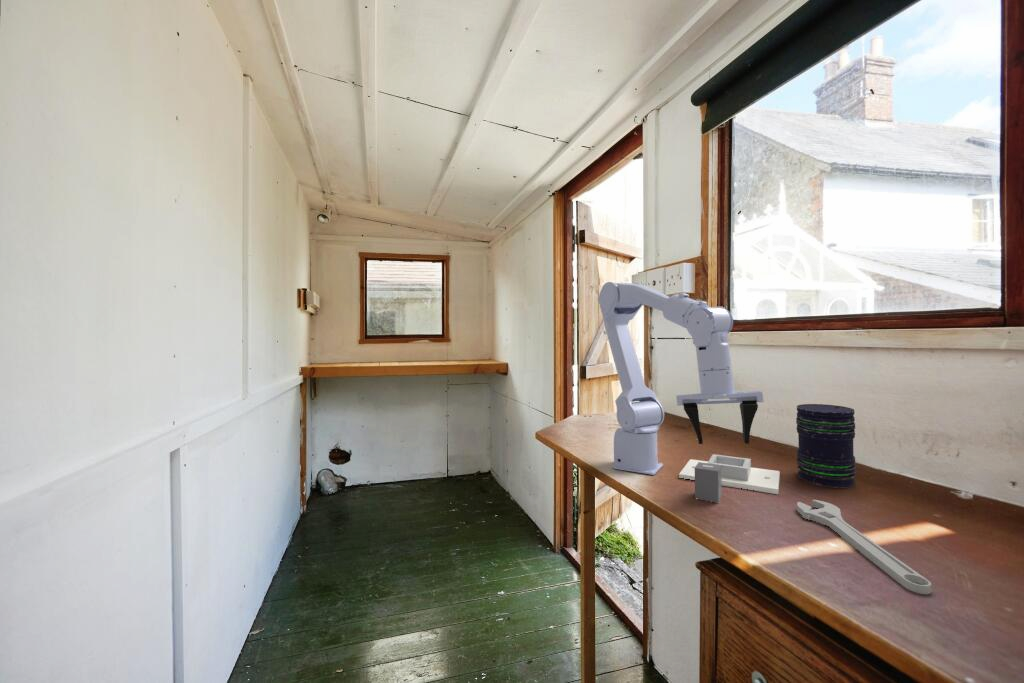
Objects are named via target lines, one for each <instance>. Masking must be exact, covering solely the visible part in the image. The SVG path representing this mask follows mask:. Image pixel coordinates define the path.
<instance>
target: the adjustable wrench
mask: <svg viewBox="0 0 1024 683" xmlns="http://www.w3.org/2000/svg"><path fill="white" fill-rule="evenodd" d="M811 502H812V506H814V507H816V508H819V509H816V508H814V507H812V506H811V505H808V504H806V503H803V502H801V501H797V503H796V509H797V510H796V512H797V511H798V512H799V513H800V514H801V515H802V516H801V515H800V514H799V513H798V512H797V513H798V514H799V515H800V516H801V518H802V517H804V518H806V519H808V520H807V521H810V519H812V520H815V521H817V522H820V523H822V524H825V525H827V526H829V527H830V528H832V529H833V530H834V531H835V532H837V533H838V534H839V535H840V536H841V538H842V540H844V541H845V540H846V541H845V542H846V543H848V544H849V543H850V544H851V545H850V544H849V545H850V546H852V547H853V546H854V547H855V548H854V547H853V548H854V549H855V550H857V549H858V550H859V551H860V552H859V551H858V550H857V551H858V552H859V553H861V555H863V556H865V558H866V559H868V560H869V561H871V562H872V563H873V564H874V565H876V566H877V567H879V568H880V569H881V570H882V571H883V572H884V573H885V574H887V575H888V576H889V577H890V578H892V579H893V580H895V581H896V582H897V583H898V584H900V585H901V586H902V587H903V588H905V589H906V590H908V591H911V592H913V593H917V594H922V595H929V594H931V593H932V582H931V581H930V580H928V579H927V578H926V577H925V576H923V575H921V574H920V573H918V572H917V571H915V570H914V569H913V568H912V567H910V566H909V565H907V564H906V563H904V562H903V561H901V560H900V559H899V558H897V557H896V556H894V555H893V554H891V553H890V552H889V551H887V550H886V549H885V548H883V547H881V546H880V545H879V544H878V543H876V542H875V541H873V540H872V539H870V537H867V536H866V535H864V534H863V533H862V532H860V531H859V530H858V529H856V528H854V527H853V526H852V525H850V524H849V523H847V522H846V521H845V520H844V518H843V517H842V513H841V509H840V508H839V507H838V506H836V505H835V504H833V503H830V502H827V501H823V500H819V499H818V500H817V499H812V501H811ZM813 508H814V509H813ZM806 519H805V520H806ZM817 522H816V523H817ZM822 524H821V525H822ZM830 528H829V529H830ZM833 530H832V531H833ZM834 531H833V532H834ZM835 532H834V533H835ZM837 533H836V534H837ZM838 534H837V535H838ZM839 535H838V536H839ZM840 536H839V537H840Z"/></svg>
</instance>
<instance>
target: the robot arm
mask: <svg viewBox="0 0 1024 683" xmlns="http://www.w3.org/2000/svg"><path fill="white" fill-rule="evenodd" d="M597 300H598V304H599V308H600V311H601V316H602V319H603V324H604V325H603V326H604V329H605V333H606V337H607V341H608V343H609V347H610V350H611V354H612V358H613V361H614V365H615V369H616V373H617V375H618V376H617V377H618V379H619V384H620V387H621V393H620V394H619V395H618V396H617V397H616V399H615V406H616V419H617V422H618V425H619V427H618V428H616V430H615V432H614V435H613V466H612V468H613V469H615V470H621V471H627V472H632V473H640V474H645V475H650V476H651V475H652V476H654V475H655V474H657V472H659V471H660V469H662V467H663V465H664V463H662V462H658V430H660V426H661V425H662V424H663V422H664V419H665V409H664V408H663V405H662V404H661V402H660V401H659V399H658V397H657V394H656V392H654V391H653V390H652V389H650V388H649V387H647V386H646V384H645V380H644V377H643V376H644V375H643V373H642V370H641V366H640V363H639V359H638V355H637V352H636V349H635V348H636V347H635V345H634V342H633V339H632V336H631V333H630V332H631V331H630V329H629V323H630V321H632V320H633V319H634V318H635V316H636V314H638V313H639V311H640V309H641V308H642V307H643V305H645V306H647V307H650V308H653V309H655V310H658V311H661V312H662V316H663V317H664V319H666V320H667V321H669V322H671V323H674V324H675V325H678V326H679V327H680V326H681V327H682V328H684V329H686V330H687V332H688V334H689V335H690V336H691V338H692V343H693V344H692V345H694V346H695V351H696V353H695V354H696V361H697V371H698V380H699V389H700V393H690V394H689V393H688V394H676V397H675V398H676V404H677V406H683V410H684V412H685V413H686V414H685V415H687V417H688V419H689V420H690V423H691V424H692V427H693V429H694V432H695V434H696V437H697V441H698V444H699V445H703V444H704V443H703V441H704V440H703V437H702V436H703V435H702V431H701V424H700V415H699V409H698V408H699V407H698V405H717V404H718V405H719V404H722V405H723V404H739V410H740V415H741V424H742V439H743V440H742V442H743V443H744V444H750V436H751V435H750V434H751V429H752V425H753V421H754V419H755V416H756V413H757V412H758V408H759V404H758V403H764V401H765V400H764V393H763V391H762V390H753V391H752V390H751V391H750V390H749V391H747V390H746V391H745V390H744V391H735V386H734V377H733V370H732V369H733V368H732V359H731V352H730V351H731V350H730V343H729V335H728V334H729V333H730V332H731V331H732V329H733V326H734V317H733V315H732V313H731V312H730V311H729V310H728V309H727V308H725V307H723V306H722V305H721V306H720V305H719V306H713V307H710V306H709V305H708V302H707V301H704V300H701V301H700V300H699V301H698V300H695V299H692V298H690V294H688V293H685V292H682V293H681V292H679V293H676V294H673V295H671V296H669V295H667V294H664V293H662V292H660V291H658V290H656V289H654V288H652V287H650V286H648V285H647V284H641V283H639V282H634V283H633V282H631V283H627V282H612V281H607V282H605V283H604V284H603V285H602V287H601V289H600V292H599V293H598V298H597ZM721 399H722V400H721ZM723 399H726V400H723ZM708 400H709V401H708Z"/></svg>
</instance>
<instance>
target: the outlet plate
mask: <svg viewBox="0 0 1024 683" xmlns="http://www.w3.org/2000/svg"><path fill="white" fill-rule="evenodd" d="M698 462H701V463H708V464H716V465H721V486H723V487H730V488H737V489H741V488H742V489H743V490H747V489H748V491H753V490H754V491H756V492H760V493H766V494H772V495H779V491H780V490H779V488H780V476H781V475H780V470H772V469H767V468H759V467H752V462H751V458H748V457H745V458H744V457H737V456H729V455H722V454H716V453H715V454H714V453H713V454H712V455H711V456H710V458H709V460H708V461H705V460H701V459H700V460H699V459H689V460H688V461H687V463H686V464H685V466H684V467H682V469H681V471H680V472H679V474H678V478H684V479H683V480H685V479H690V480H689V481H691V480H695V467H696V465H697V464H698Z"/></svg>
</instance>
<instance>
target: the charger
mask: <svg viewBox="0 0 1024 683" xmlns="http://www.w3.org/2000/svg"><path fill="white" fill-rule="evenodd" d="M722 490H723V489H722V485H721V465H716V464H708V463H701V462H698V464H697V465H696V467H695V481H694V499H695V498H698V499H702V500H707V501H712V502H717V503H716V504H718V503H719V504H720V502H719V501H721V499H722V497H721V496H722V494H723V493H722V492H723V491H722ZM720 498H721V499H720ZM707 501H706V502H707ZM712 502H711V503H712Z"/></svg>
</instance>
